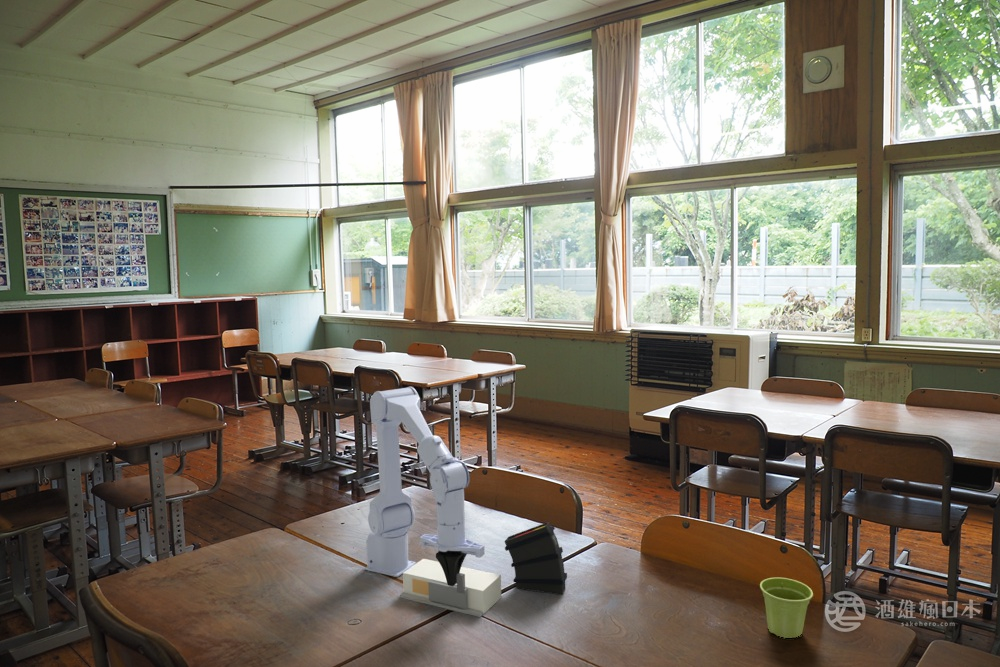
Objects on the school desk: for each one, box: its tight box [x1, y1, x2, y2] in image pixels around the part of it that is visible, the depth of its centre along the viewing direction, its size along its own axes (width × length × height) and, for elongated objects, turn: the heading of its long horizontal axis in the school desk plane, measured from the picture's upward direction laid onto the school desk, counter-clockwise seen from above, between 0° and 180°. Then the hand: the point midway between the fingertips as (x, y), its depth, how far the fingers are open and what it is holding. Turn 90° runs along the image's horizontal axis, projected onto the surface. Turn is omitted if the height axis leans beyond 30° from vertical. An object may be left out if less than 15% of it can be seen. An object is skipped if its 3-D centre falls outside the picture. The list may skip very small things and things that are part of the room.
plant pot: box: [759, 577, 814, 639], centre depth 132 cm, size 9×9×9 cm
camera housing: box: [399, 558, 502, 618], centre depth 148 cm, size 20×9×5 cm, turn 63°
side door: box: [428, 573, 468, 609], centre depth 143 cm, size 9×1×7 cm, turn 63°
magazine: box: [504, 521, 568, 596], centre depth 151 cm, size 4×13×15 cm, turn 70°
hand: (452, 583), depth 143 cm, fingers closed
